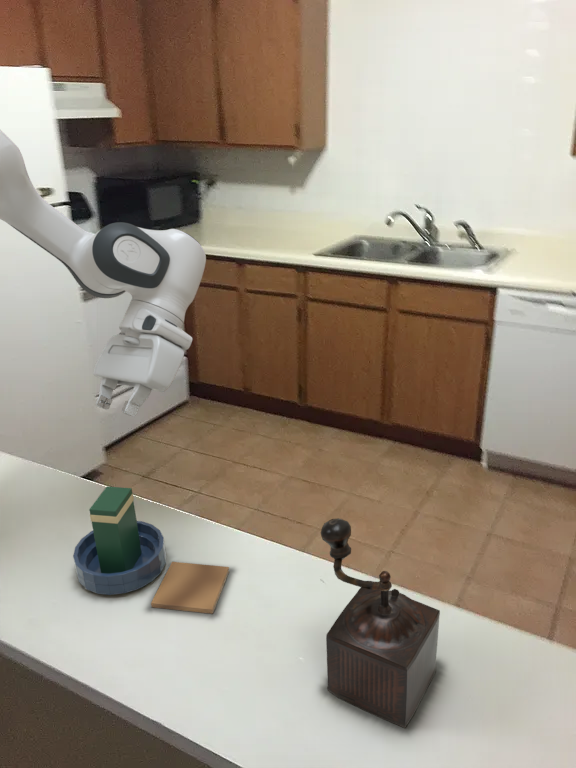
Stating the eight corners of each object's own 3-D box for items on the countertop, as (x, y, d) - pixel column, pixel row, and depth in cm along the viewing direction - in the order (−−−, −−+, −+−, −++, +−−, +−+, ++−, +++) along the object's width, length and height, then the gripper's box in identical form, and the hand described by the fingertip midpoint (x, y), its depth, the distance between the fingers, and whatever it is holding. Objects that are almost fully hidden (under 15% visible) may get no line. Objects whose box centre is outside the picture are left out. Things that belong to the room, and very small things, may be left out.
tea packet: (101, 576, 100) (88, 509, 95) (117, 550, 105) (106, 485, 100) (126, 579, 99) (115, 511, 94) (142, 552, 104) (132, 487, 99)
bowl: (62, 593, 97) (57, 571, 96) (100, 537, 109) (97, 517, 108) (147, 602, 95) (144, 580, 93) (177, 544, 107) (175, 523, 105)
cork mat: (151, 607, 94) (150, 602, 94) (172, 565, 102) (172, 561, 102) (212, 613, 93) (212, 609, 92) (229, 571, 101) (229, 566, 100)
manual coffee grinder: (440, 663, 83) (450, 546, 76) (406, 731, 75) (413, 607, 67) (331, 618, 91) (330, 508, 84) (288, 675, 83) (283, 558, 75)
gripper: (104, 320, 111) (70, 397, 108) (164, 320, 95) (126, 410, 92) (136, 337, 115) (103, 411, 112) (199, 340, 99) (162, 426, 96)
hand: (114, 411), depth 102 cm, fingers open, 8 cm apart
